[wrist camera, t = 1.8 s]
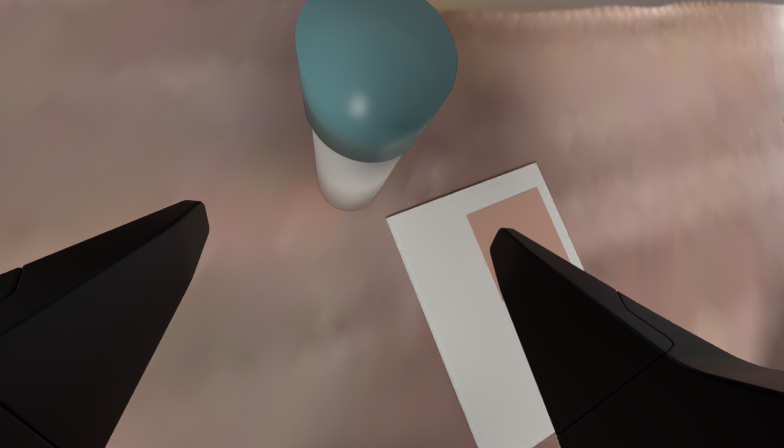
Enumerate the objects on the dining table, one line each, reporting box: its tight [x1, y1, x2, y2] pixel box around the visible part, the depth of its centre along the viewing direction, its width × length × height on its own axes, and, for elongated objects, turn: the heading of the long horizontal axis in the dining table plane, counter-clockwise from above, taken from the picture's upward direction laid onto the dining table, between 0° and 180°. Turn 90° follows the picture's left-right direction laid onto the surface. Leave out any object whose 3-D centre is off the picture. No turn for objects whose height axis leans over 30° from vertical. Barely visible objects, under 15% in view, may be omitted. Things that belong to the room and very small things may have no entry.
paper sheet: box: [386, 163, 584, 448], centre depth 22 cm, size 19×14×1 cm
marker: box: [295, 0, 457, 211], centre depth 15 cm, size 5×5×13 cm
